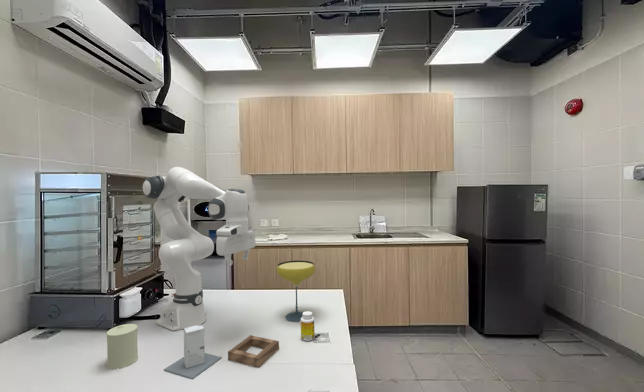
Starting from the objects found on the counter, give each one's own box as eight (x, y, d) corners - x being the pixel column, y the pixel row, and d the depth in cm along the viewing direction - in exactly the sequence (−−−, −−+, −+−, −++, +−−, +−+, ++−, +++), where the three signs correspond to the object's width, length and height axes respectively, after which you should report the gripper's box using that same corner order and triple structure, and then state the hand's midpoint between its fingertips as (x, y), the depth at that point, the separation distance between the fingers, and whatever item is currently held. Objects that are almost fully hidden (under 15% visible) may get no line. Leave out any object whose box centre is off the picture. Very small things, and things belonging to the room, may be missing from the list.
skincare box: (186, 369, 99) (185, 333, 99) (183, 363, 103) (183, 328, 102) (205, 363, 102) (204, 328, 102) (202, 357, 106) (201, 323, 106)
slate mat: (163, 370, 99) (163, 369, 99) (194, 351, 111) (194, 350, 111) (192, 379, 94) (192, 378, 94) (221, 358, 106) (221, 357, 106)
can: (132, 351, 111) (132, 320, 111) (142, 360, 105) (141, 326, 105) (103, 363, 104) (102, 329, 104) (111, 372, 98) (111, 336, 98)
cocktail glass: (291, 329, 128) (290, 271, 128) (270, 316, 142) (269, 264, 142) (323, 317, 139) (322, 264, 139) (301, 306, 153) (300, 258, 153)
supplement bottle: (314, 341, 117) (314, 315, 117) (300, 342, 117) (300, 316, 117) (314, 334, 122) (313, 310, 122) (300, 335, 122) (300, 310, 122)
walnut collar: (228, 360, 105) (227, 351, 105) (250, 342, 117) (250, 335, 117) (258, 367, 100) (258, 358, 100) (278, 349, 111) (278, 341, 111)
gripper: (247, 225, 131) (247, 256, 131) (213, 231, 112) (213, 267, 112) (258, 226, 128) (259, 257, 128) (226, 231, 110) (226, 269, 110)
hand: (237, 262), depth 120 cm, fingers open, 8 cm apart
